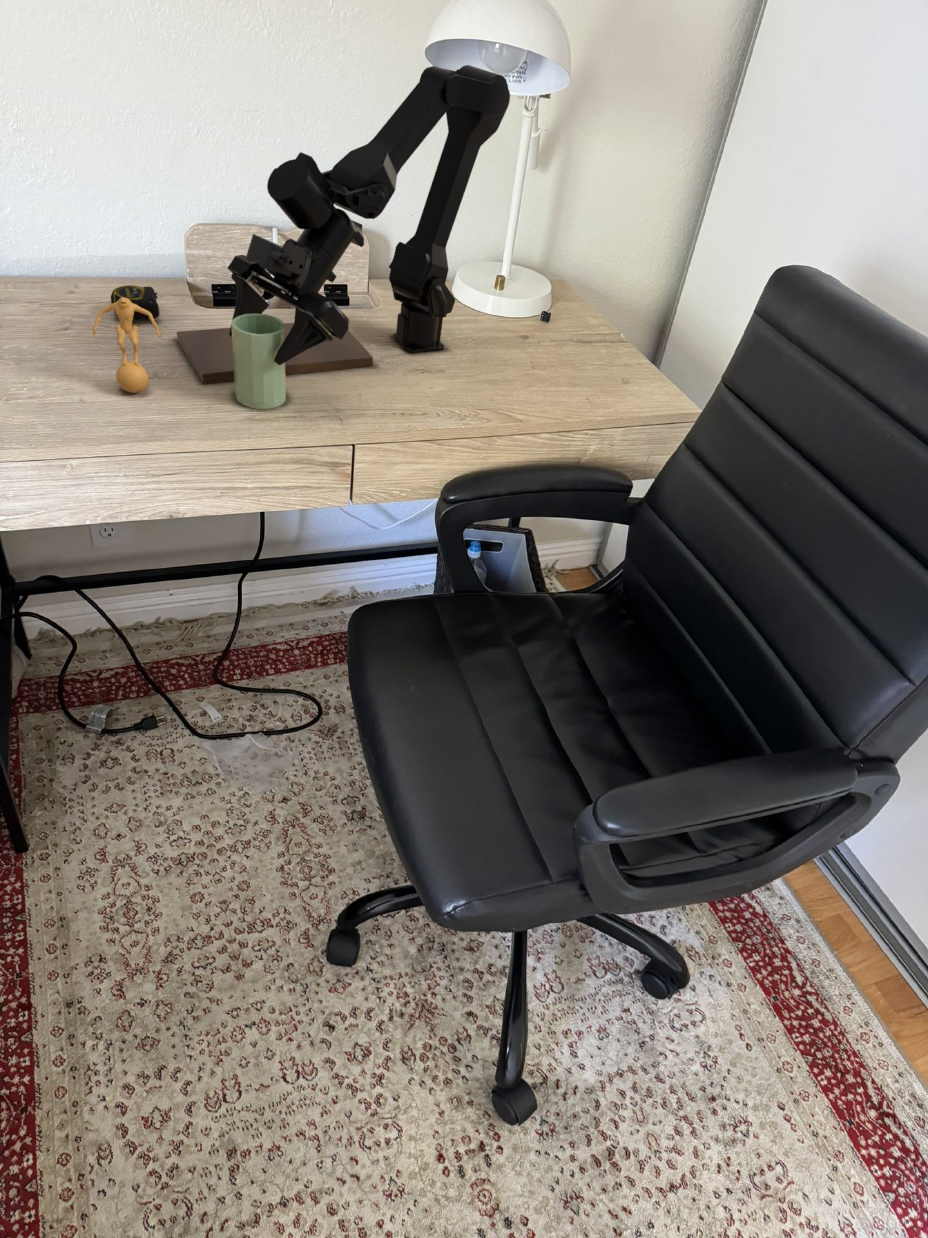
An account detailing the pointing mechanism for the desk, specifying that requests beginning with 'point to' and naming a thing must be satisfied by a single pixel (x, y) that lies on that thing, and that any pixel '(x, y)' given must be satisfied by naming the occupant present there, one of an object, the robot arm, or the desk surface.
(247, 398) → the pencil cup
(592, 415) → the desk surface
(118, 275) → the desk surface
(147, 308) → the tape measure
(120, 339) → the figurine
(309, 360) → the walnut board
